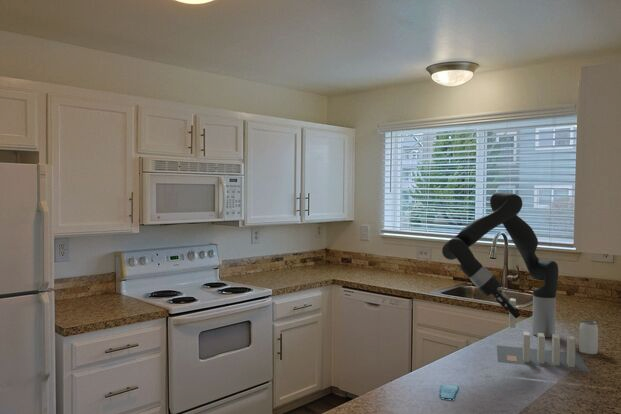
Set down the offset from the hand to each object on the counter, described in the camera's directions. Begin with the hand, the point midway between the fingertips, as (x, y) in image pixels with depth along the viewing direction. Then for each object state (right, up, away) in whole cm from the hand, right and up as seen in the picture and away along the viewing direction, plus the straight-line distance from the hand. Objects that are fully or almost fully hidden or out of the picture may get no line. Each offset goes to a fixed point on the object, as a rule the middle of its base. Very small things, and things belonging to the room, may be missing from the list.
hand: (517, 314), depth 193 cm
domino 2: (+3, -17, -1) cm, 17 cm away
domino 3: (+8, -17, -2) cm, 19 cm away
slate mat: (+9, -17, +3) cm, 20 cm away
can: (+32, -17, +11) cm, 38 cm away
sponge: (-35, -19, -31) cm, 50 cm away
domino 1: (-2, -4, +1) cm, 5 cm away
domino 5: (+17, -17, -5) cm, 25 cm away
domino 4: (+12, -17, -4) cm, 21 cm away
